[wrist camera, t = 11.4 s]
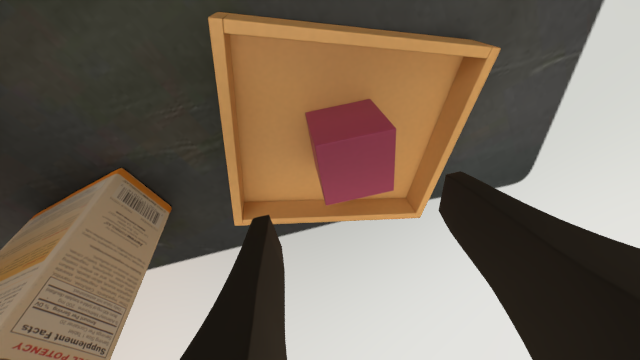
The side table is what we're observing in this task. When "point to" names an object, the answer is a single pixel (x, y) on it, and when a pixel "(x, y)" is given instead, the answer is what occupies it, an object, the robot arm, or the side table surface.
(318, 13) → the side table surface
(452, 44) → the tray
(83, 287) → the supplement box
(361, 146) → the pink block
